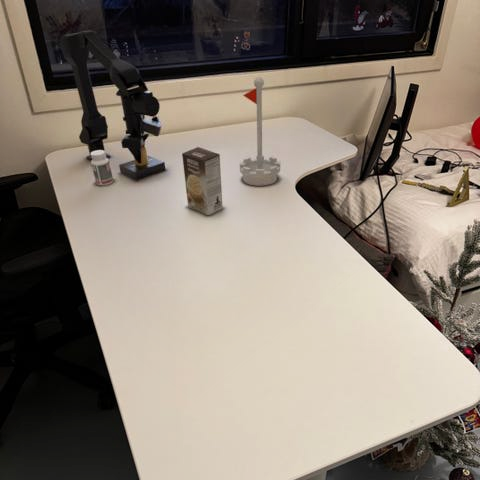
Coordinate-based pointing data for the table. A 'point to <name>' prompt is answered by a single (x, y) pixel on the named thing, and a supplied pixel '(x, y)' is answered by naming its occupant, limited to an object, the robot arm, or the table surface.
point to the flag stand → (259, 148)
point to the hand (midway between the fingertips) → (141, 160)
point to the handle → (144, 157)
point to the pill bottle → (101, 167)
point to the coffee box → (203, 180)
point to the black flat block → (142, 168)
